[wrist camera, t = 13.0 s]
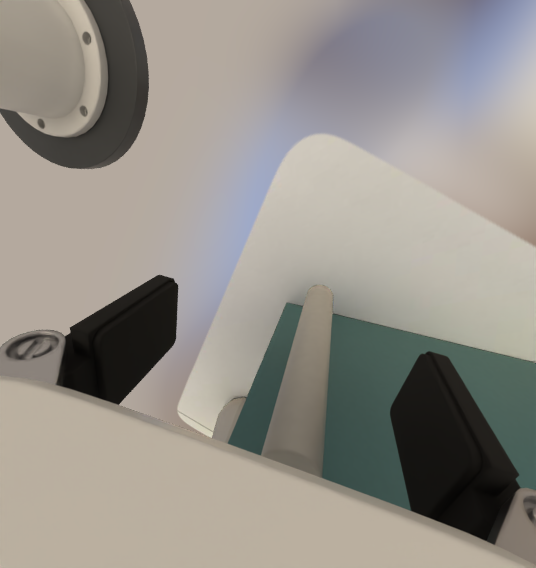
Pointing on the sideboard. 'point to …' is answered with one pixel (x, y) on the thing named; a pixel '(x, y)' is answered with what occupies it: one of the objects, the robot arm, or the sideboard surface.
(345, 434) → the fridge door
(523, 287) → the sideboard surface
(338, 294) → the sideboard surface
